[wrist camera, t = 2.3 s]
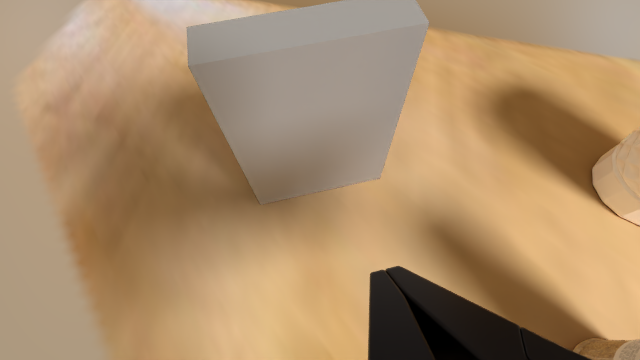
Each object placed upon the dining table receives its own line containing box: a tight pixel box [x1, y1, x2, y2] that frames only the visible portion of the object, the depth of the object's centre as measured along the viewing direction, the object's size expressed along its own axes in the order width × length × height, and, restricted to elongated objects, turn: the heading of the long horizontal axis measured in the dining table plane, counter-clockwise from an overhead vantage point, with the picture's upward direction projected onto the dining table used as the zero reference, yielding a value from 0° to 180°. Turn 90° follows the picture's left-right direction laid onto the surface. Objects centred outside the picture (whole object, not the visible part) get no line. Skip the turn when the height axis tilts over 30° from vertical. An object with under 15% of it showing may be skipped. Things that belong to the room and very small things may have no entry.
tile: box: [187, 0, 429, 205], centre depth 19 cm, size 3×10×14 cm, turn 103°
